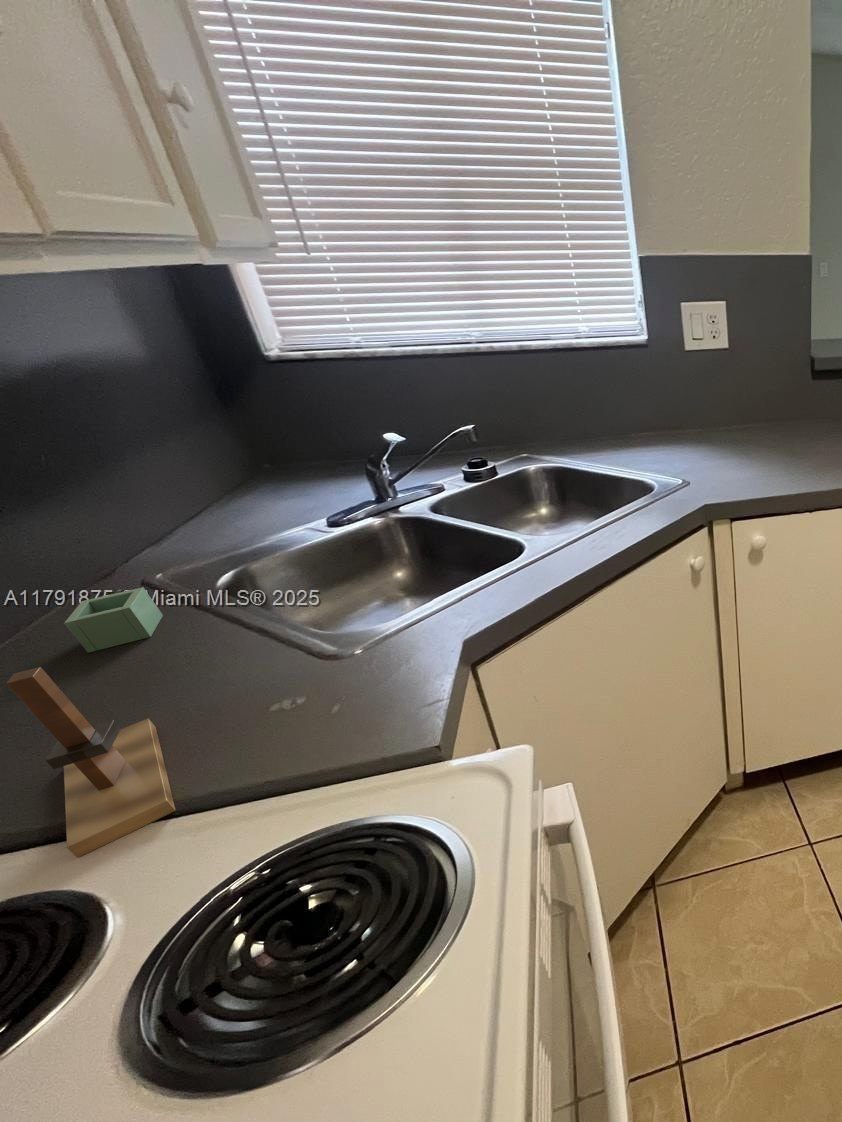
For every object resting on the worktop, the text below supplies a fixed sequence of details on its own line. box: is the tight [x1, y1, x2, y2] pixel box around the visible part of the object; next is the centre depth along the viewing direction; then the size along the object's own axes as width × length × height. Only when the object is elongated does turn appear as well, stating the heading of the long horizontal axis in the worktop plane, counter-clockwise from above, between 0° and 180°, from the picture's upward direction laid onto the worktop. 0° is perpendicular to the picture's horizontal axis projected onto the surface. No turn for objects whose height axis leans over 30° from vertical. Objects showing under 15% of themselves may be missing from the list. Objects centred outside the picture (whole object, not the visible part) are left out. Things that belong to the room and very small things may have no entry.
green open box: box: [64, 586, 164, 654], centre depth 89 cm, size 7×7×5 cm
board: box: [63, 718, 176, 858], centre depth 64 cm, size 18×7×2 cm, turn 47°
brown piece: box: [6, 666, 126, 790], centre depth 60 cm, size 4×4×13 cm
